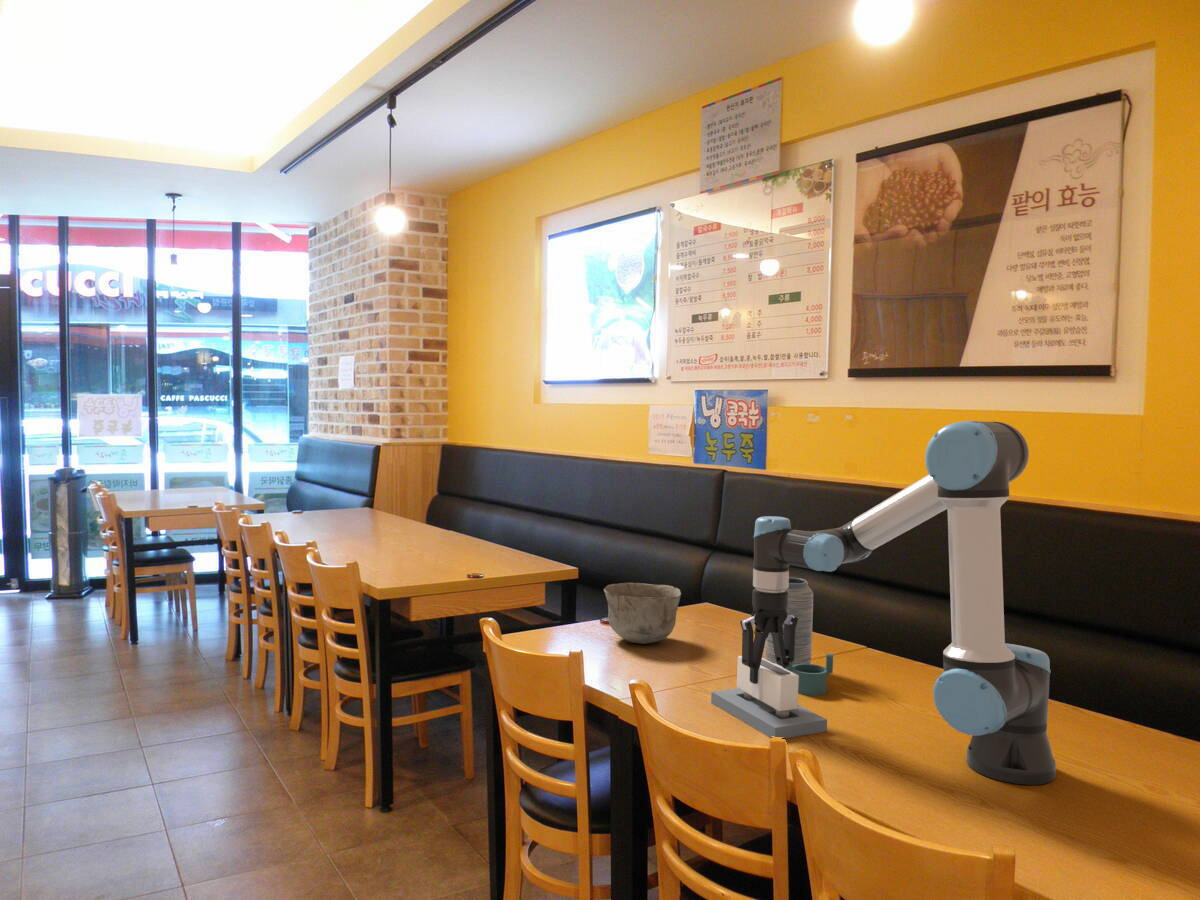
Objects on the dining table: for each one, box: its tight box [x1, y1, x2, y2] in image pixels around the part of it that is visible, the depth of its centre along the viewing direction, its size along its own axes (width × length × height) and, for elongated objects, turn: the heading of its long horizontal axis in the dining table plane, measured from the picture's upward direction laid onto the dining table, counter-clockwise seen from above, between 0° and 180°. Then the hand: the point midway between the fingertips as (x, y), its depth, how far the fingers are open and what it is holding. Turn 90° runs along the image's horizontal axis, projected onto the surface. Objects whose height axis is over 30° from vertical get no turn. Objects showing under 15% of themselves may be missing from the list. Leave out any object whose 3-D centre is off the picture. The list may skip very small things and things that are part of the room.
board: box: [710, 687, 828, 739], centre depth 189 cm, size 24×13×2 cm, turn 24°
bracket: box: [786, 653, 834, 697], centre depth 209 cm, size 9×9×9 cm
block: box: [736, 655, 799, 718], centre depth 190 cm, size 16×4×9 cm, turn 24°
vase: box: [764, 576, 814, 670], centre depth 224 cm, size 12×12×23 cm
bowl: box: [603, 582, 682, 645], centre depth 248 cm, size 22×22×15 cm
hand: (767, 696), depth 189 cm, fingers closed on block, 4 cm apart
